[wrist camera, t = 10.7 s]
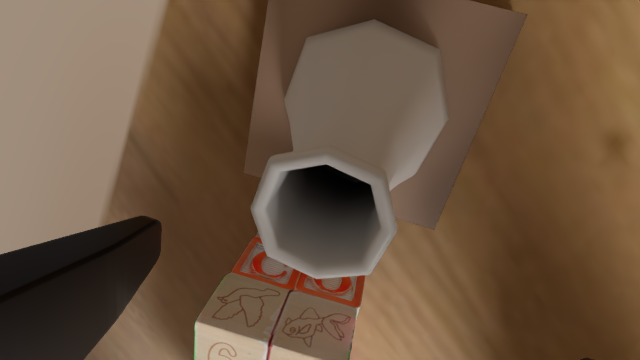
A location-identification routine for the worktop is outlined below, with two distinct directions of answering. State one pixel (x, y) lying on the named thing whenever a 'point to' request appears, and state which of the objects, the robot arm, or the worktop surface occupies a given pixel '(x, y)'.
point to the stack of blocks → (277, 313)
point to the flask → (349, 148)
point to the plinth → (419, 22)
